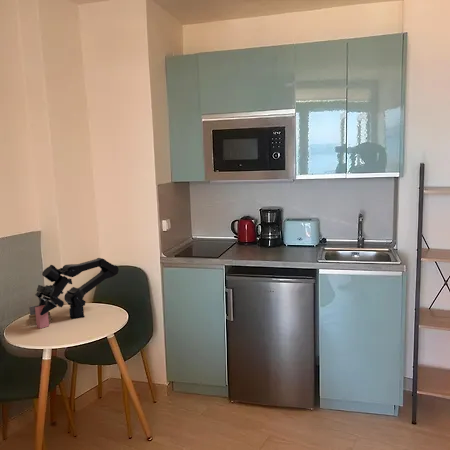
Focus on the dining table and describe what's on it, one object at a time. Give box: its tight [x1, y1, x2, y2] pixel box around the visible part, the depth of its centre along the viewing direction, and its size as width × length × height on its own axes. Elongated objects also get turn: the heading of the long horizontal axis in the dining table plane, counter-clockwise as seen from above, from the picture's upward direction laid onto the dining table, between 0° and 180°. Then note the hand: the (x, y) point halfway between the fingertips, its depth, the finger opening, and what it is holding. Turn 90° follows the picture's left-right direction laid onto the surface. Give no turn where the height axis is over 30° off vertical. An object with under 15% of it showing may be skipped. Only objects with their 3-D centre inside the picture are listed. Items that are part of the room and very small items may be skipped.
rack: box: [28, 304, 53, 327], centre depth 237 cm, size 10×12×7 cm
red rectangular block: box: [35, 305, 50, 329], centre depth 228 cm, size 4×4×10 cm
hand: (38, 314), depth 226 cm, fingers closed on red rectangular block, 3 cm apart
